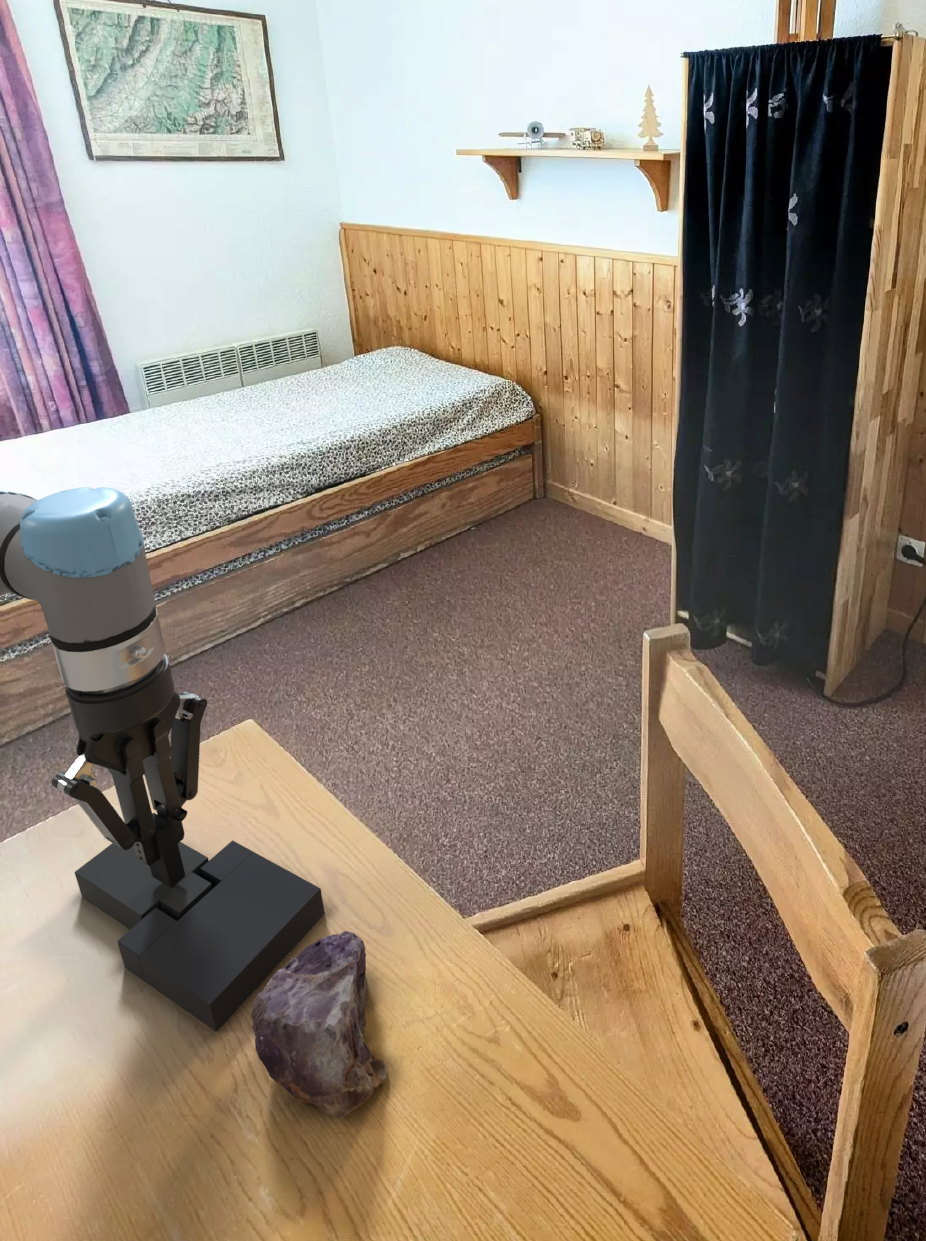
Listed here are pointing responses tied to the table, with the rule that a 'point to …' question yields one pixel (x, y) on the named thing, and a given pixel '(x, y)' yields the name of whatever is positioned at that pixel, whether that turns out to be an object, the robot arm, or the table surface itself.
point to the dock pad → (224, 935)
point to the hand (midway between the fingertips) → (168, 876)
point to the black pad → (140, 885)
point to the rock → (319, 1027)
